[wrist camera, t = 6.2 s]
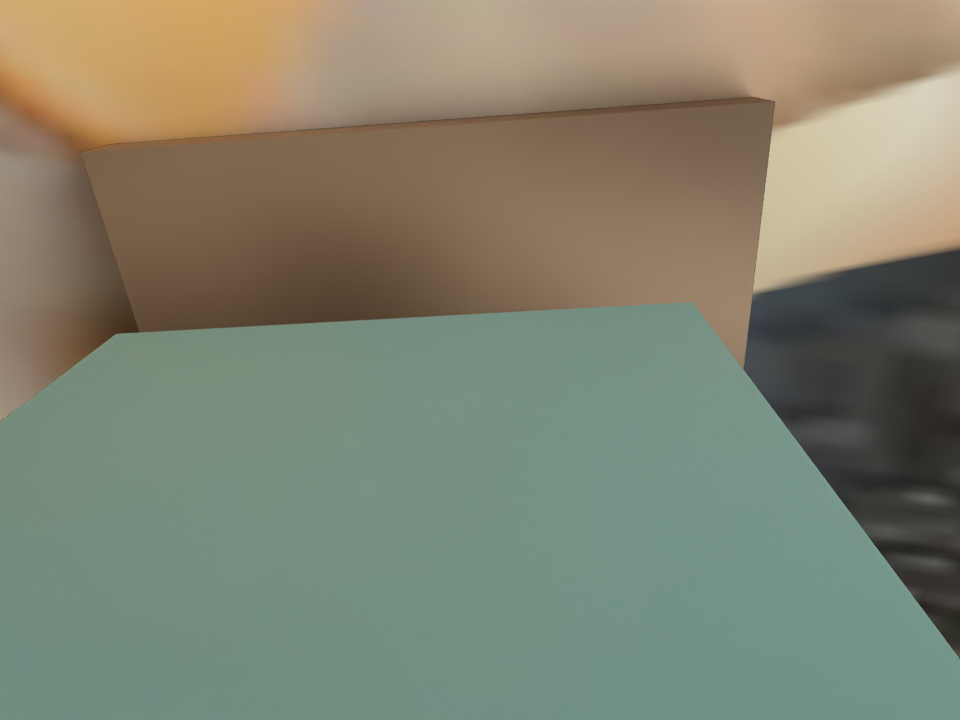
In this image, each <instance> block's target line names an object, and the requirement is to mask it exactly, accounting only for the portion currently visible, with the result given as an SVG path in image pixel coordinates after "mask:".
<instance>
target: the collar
mask: <svg viewBox="0 0 960 720" xmlns="http://www.w3.org/2000/svg"><path fill="white" fill-rule="evenodd" d="M0 720H960V659H959V657H958V656H957V655H956V653H955V652H954V651H953V649H952V648H951V647H950V645H949V644H948V643H947V641H946V640H945V639H944V637H943V636H942V635H941V633H940V632H939V631H938V629H937V628H936V627H935V625H934V624H933V623H932V621H931V620H930V619H929V617H928V616H927V615H926V613H925V612H924V611H923V609H922V608H921V607H920V605H919V604H918V603H917V601H916V600H915V599H914V597H913V596H912V595H911V593H910V592H909V591H908V589H907V588H906V587H905V585H904V584H903V583H902V581H901V580H900V579H899V577H898V576H897V575H896V573H895V572H894V571H893V569H892V568H891V567H890V565H889V564H888V563H887V561H886V560H885V559H884V557H883V556H882V555H881V553H880V552H879V551H878V549H877V548H876V547H875V545H874V544H873V543H872V541H871V540H870V538H869V537H868V536H867V534H866V533H865V532H864V530H863V529H862V528H861V526H860V525H859V524H858V522H857V521H856V520H855V518H854V517H853V516H852V514H851V513H850V512H849V510H848V509H847V508H846V506H845V505H844V504H843V502H842V501H841V500H840V498H839V497H838V496H837V494H836V493H835V492H834V490H833V489H832V488H831V486H830V485H829V484H828V482H827V481H826V480H825V478H824V477H823V476H822V474H821V473H820V472H819V470H818V469H817V468H816V466H815V465H814V464H813V462H812V461H811V460H810V458H809V457H808V456H807V454H806V453H805V452H804V450H803V449H802V448H801V446H800V445H799V444H798V442H797V441H796V440H795V438H794V437H793V436H792V434H791V433H790V432H789V430H788V429H787V428H786V426H785V425H784V423H783V422H782V421H781V419H780V418H779V417H778V415H777V414H776V413H775V411H774V410H773V409H772V407H771V406H770V405H769V403H768V402H767V401H766V399H765V398H764V397H763V395H762V394H761V393H760V391H759V390H758V389H757V387H756V386H755V385H754V383H753V382H752V381H751V379H750V378H749V377H748V375H747V374H746V373H745V371H744V370H743V369H742V367H741V366H740V365H739V363H738V362H737V361H736V359H735V358H734V357H733V355H732V354H731V353H730V351H729V350H728V349H727V347H726V346H725V345H724V343H723V342H722V341H721V339H720V338H719V337H718V335H717V334H716V333H715V331H714V330H713V329H712V327H711V326H710V325H709V323H708V322H707V321H706V319H705V318H704V317H703V315H702V314H701V313H700V311H699V310H698V308H697V307H696V306H695V304H694V303H693V302H684V303H666V304H648V305H629V306H611V307H593V308H575V309H557V310H539V311H521V312H503V313H484V314H466V315H448V316H430V317H412V318H394V319H376V320H358V321H340V322H321V323H303V324H285V325H267V326H249V327H231V328H213V329H195V330H176V331H158V332H140V333H122V334H115V335H114V336H113V337H111V338H110V339H109V340H107V341H106V342H105V343H103V344H102V345H101V346H99V347H98V348H97V349H95V350H94V351H93V352H92V353H90V354H89V355H88V356H86V357H85V358H84V359H82V360H81V361H80V362H78V363H77V364H76V365H74V366H73V367H72V368H70V369H69V370H68V371H66V372H65V373H64V374H63V375H61V376H60V377H59V378H57V379H56V380H55V381H53V382H52V383H51V384H49V385H48V386H47V387H45V388H44V389H43V390H41V391H40V392H39V393H37V394H36V395H35V396H34V397H32V398H31V399H30V400H28V401H27V402H26V403H24V404H23V405H22V406H20V407H19V408H18V409H16V410H15V411H14V412H12V413H11V414H10V415H9V416H7V417H6V418H5V419H3V420H2V421H1V422H0Z"/></svg>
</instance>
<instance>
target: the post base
mask: <svg viewBox="0 0 960 720" xmlns="http://www.w3.org/2000/svg"><path fill="white" fill-rule="evenodd" d="M774 108H775V101H770V100H765V99H761V98H756V97H748V98H734V99H721V100H707V101H693V102H680V103H666V104H652V105H639V106H625V107H612V108H598V109H584V110H571V111H557V112H543V113H530V114H516V115H502V116H489V117H475V118H461V119H448V120H434V121H420V122H407V123H393V124H379V125H366V126H352V127H339V128H325V129H311V130H298V131H284V132H270V133H257V134H243V135H229V136H216V137H202V138H188V139H175V140H161V141H147V142H134V143H120V144H109V145H106V146H102V147H98V148H94V149H90V150H87V151H83V152H80V153H81V156H82V159H83V162H84V165H85V168H86V171H87V174H88V177H89V180H90V183H91V186H92V190H93V193H94V196H95V199H96V202H97V205H98V208H99V211H100V214H101V217H102V220H103V223H104V226H105V229H106V232H107V235H108V238H109V241H110V244H111V247H112V250H113V253H114V257H115V260H116V263H117V266H118V269H119V272H120V275H121V278H122V281H123V284H124V287H125V290H126V293H127V296H128V299H129V302H130V305H131V308H132V311H133V314H134V317H135V320H136V324H137V327H138V330H139V333H140V332H158V331H176V330H195V329H213V328H231V327H249V326H267V325H285V324H303V323H321V322H340V321H358V320H376V319H394V318H412V317H430V316H448V315H466V314H484V313H503V312H521V311H539V310H557V309H575V308H593V307H611V306H629V305H648V304H666V303H684V302H693V303H694V304H695V306H696V307H697V308H698V310H699V311H700V313H701V314H702V315H703V317H704V318H705V319H706V321H707V322H708V323H709V325H710V326H711V327H712V329H713V330H714V331H715V333H716V334H717V335H718V337H719V338H720V339H721V341H722V342H723V343H724V345H725V346H726V347H727V349H728V350H729V351H730V353H731V354H732V355H733V357H734V358H735V359H736V361H737V362H738V363H739V365H740V366H741V367H742V369H743V368H744V360H745V351H746V343H747V335H748V326H749V318H750V309H751V301H752V293H753V283H754V275H755V267H756V259H757V251H758V242H759V234H760V225H761V216H762V209H763V208H762V207H763V200H764V192H765V182H766V175H767V166H768V158H769V149H770V141H771V133H772V124H773V116H774Z"/></svg>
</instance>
